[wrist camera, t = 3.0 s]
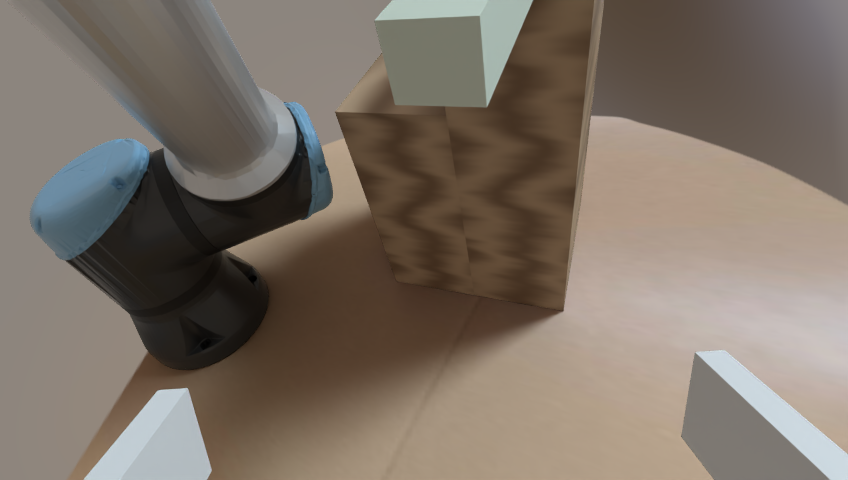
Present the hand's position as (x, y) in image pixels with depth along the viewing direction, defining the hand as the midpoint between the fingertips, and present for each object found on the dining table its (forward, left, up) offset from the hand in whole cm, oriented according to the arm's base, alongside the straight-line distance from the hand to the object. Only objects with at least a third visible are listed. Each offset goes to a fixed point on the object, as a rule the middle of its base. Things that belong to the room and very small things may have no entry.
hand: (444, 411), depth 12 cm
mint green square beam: (-3, +27, +2) cm, 28 cm away
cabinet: (-8, +33, -31) cm, 46 cm away
